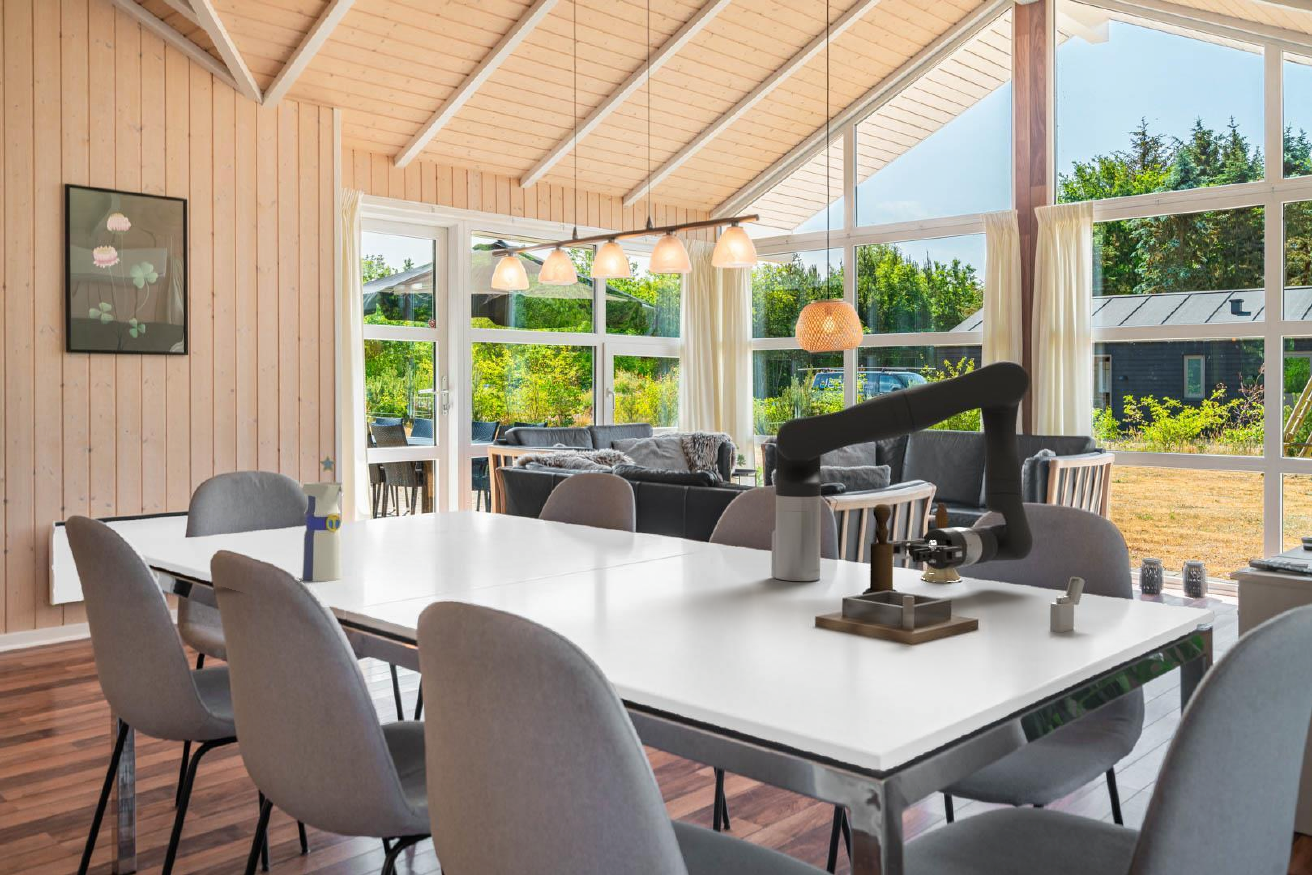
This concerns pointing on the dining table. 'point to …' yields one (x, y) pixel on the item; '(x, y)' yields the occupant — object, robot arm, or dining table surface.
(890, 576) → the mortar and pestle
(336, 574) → the cream gift bag
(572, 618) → the dining table surface
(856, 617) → the collar plate
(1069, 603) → the lighter
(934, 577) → the hand bell
